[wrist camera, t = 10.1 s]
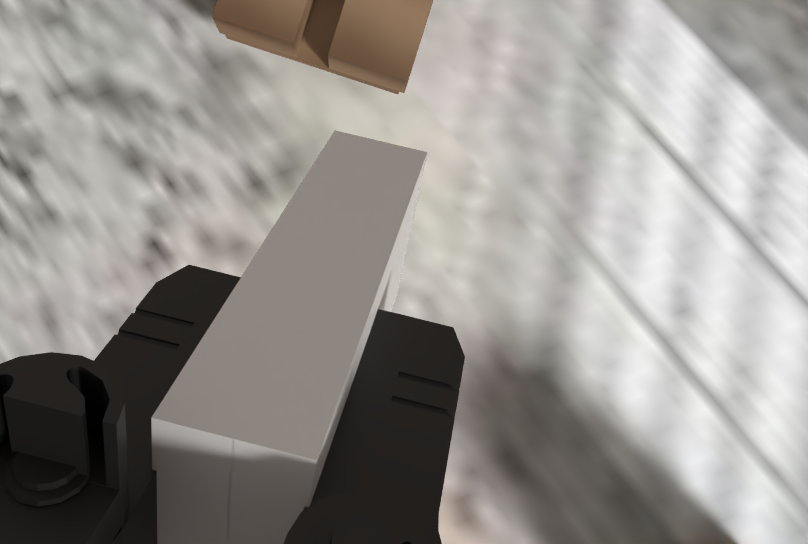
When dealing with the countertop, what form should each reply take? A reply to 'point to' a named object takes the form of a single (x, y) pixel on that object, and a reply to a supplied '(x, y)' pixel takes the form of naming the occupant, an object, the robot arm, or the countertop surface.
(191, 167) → the countertop surface
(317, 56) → the balance beam
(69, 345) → the countertop surface
